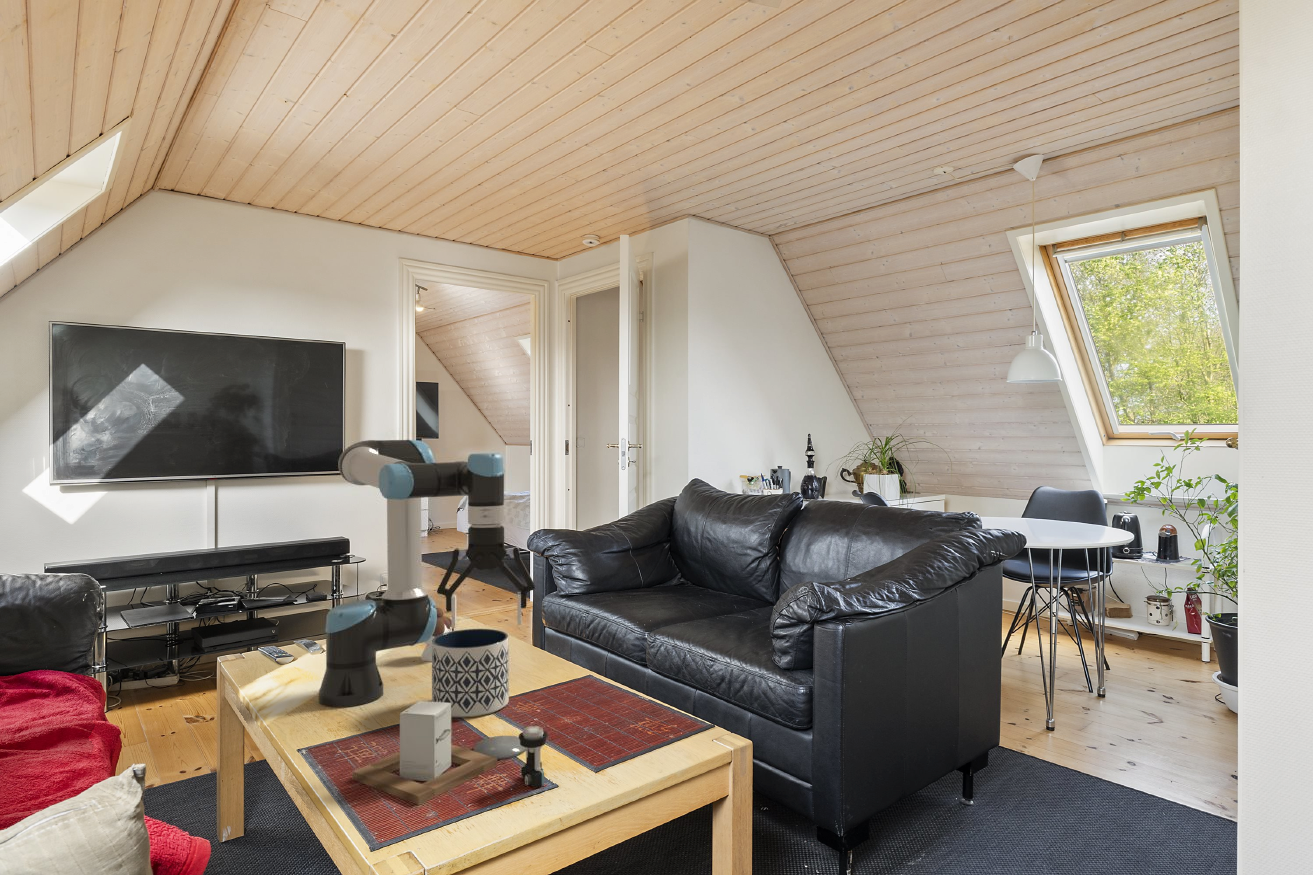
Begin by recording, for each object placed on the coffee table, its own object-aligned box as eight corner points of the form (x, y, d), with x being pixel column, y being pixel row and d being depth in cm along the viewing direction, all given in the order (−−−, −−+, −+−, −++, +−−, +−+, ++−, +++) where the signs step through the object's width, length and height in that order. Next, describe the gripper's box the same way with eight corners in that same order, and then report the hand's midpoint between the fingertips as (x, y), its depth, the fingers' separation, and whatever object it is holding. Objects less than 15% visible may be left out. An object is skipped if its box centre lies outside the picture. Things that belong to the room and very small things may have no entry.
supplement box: (434, 782, 141) (434, 715, 142) (398, 779, 143) (398, 712, 143) (452, 766, 149) (452, 701, 149) (418, 763, 150) (418, 699, 150)
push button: (509, 780, 142) (509, 727, 142) (533, 771, 146) (533, 720, 146) (529, 792, 137) (528, 737, 137) (553, 783, 141) (553, 729, 141)
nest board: (352, 779, 143) (352, 771, 143) (432, 745, 159) (432, 738, 159) (418, 804, 133) (418, 796, 133) (497, 765, 149) (497, 758, 149)
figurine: (429, 653, 229) (429, 603, 230) (458, 653, 228) (458, 604, 228) (414, 662, 220) (414, 610, 220) (445, 663, 218) (445, 611, 219)
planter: (470, 724, 171) (469, 651, 171) (415, 709, 180) (415, 641, 181) (524, 700, 186) (524, 634, 186) (471, 688, 196) (471, 625, 196)
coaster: (462, 751, 155) (462, 748, 155) (500, 734, 165) (500, 731, 165) (500, 764, 149) (500, 761, 149) (538, 745, 159) (538, 742, 159)
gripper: (423, 528, 155) (423, 632, 155) (545, 525, 159) (546, 626, 159) (428, 525, 162) (428, 623, 162) (545, 522, 166) (545, 618, 166)
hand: (486, 625), depth 160 cm, fingers open, 13 cm apart
